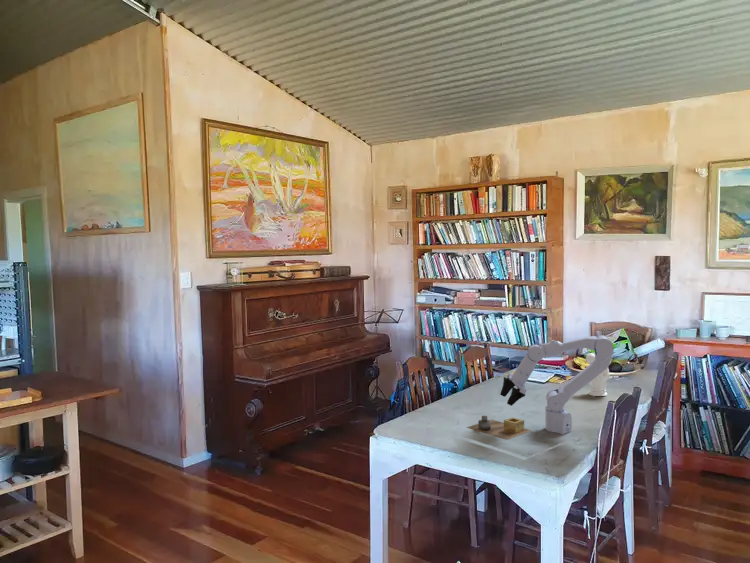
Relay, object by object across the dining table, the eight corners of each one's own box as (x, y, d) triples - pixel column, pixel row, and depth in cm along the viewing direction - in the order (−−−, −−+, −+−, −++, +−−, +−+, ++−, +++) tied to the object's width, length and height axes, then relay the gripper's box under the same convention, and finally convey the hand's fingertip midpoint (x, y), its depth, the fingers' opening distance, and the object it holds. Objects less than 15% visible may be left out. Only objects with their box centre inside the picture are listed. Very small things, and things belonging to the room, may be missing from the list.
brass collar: (524, 430, 224) (524, 420, 224) (515, 433, 220) (515, 423, 220) (512, 427, 228) (512, 417, 228) (503, 430, 225) (503, 420, 225)
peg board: (532, 433, 224) (532, 418, 224) (507, 442, 214) (507, 426, 213) (491, 421, 239) (491, 407, 239) (466, 429, 229) (466, 415, 229)
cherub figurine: (582, 394, 282) (583, 350, 280) (595, 389, 290) (595, 347, 289) (606, 398, 273) (607, 353, 271) (618, 394, 281) (619, 349, 280)
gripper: (508, 360, 233) (491, 388, 235) (522, 375, 219) (504, 404, 221) (522, 367, 235) (505, 394, 237) (537, 382, 221) (518, 411, 223)
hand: (505, 400), depth 229 cm, fingers open, 7 cm apart
